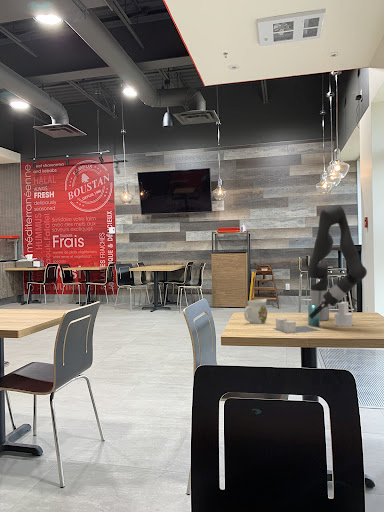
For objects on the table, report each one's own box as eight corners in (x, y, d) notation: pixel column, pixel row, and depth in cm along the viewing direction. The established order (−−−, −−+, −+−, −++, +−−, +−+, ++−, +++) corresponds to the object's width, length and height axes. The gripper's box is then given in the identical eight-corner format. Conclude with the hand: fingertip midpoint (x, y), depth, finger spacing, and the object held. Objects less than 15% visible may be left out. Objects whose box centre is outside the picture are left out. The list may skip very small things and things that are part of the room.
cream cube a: (291, 330, 208) (291, 320, 208) (295, 332, 204) (295, 321, 204) (284, 331, 206) (283, 321, 206) (288, 332, 203) (288, 322, 202)
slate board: (304, 328, 220) (304, 325, 220) (321, 333, 207) (321, 330, 207) (272, 331, 214) (272, 328, 214) (286, 336, 201) (286, 333, 201)
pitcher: (237, 326, 231) (237, 301, 231) (259, 322, 243) (258, 298, 242) (252, 328, 223) (252, 302, 222) (274, 324, 234) (274, 299, 234)
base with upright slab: (337, 322, 236) (337, 301, 236) (354, 324, 231) (354, 302, 231) (332, 325, 229) (332, 303, 229) (349, 326, 224) (349, 304, 224)
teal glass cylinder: (315, 326, 226) (315, 304, 225) (321, 328, 220) (321, 305, 220) (306, 327, 224) (306, 304, 224) (312, 329, 219) (312, 306, 218)
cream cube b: (282, 328, 215) (282, 318, 215) (287, 329, 211) (286, 319, 211) (275, 328, 214) (275, 318, 214) (279, 330, 210) (279, 319, 210)
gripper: (331, 288, 225) (309, 308, 230) (326, 290, 212) (304, 312, 217) (342, 298, 222) (319, 319, 228) (338, 301, 210) (314, 323, 215)
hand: (312, 315), depth 222 cm, fingers open, 8 cm apart
